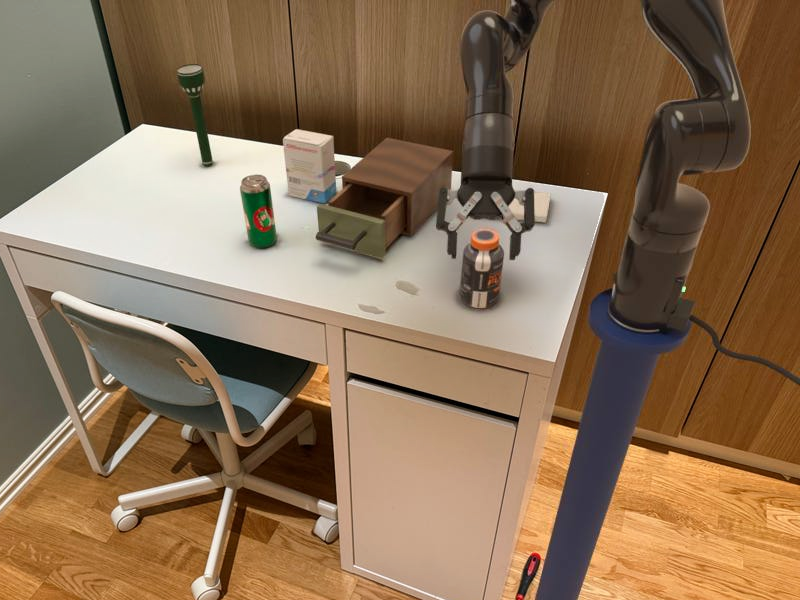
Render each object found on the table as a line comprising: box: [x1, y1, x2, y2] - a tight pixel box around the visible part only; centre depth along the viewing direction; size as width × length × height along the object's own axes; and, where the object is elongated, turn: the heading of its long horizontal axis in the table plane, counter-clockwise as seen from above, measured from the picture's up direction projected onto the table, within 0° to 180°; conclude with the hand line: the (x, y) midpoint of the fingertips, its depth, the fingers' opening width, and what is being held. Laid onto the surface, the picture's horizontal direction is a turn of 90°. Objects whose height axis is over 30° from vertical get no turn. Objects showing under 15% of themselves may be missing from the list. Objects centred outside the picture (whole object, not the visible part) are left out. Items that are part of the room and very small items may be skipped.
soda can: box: [239, 174, 278, 249], centre depth 123 cm, size 5×5×12 cm
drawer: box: [315, 183, 407, 260], centre depth 122 cm, size 20×12×7 cm, turn 148°
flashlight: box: [176, 63, 214, 168], centre depth 143 cm, size 5×5×20 cm
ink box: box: [282, 128, 337, 205], centre depth 134 cm, size 9×5×12 cm, turn 59°
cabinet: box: [341, 137, 454, 238], centre depth 129 cm, size 17×14×9 cm
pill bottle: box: [459, 228, 505, 309], centre depth 107 cm, size 6×6×11 cm
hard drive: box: [508, 191, 552, 224], centre depth 128 cm, size 2×8×12 cm
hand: (482, 258), depth 106 cm, fingers open, 8 cm apart
